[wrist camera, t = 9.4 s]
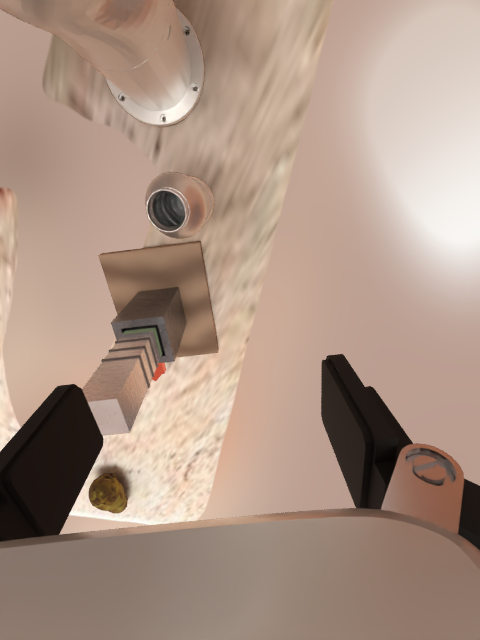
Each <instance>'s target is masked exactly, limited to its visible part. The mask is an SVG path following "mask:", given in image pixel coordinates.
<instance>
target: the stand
mask: <svg viewBox="0 0 480 640" xmlns="http://www.w3.org/2000/svg"><path fill="white" fill-rule="evenodd" d="M99 259H100V262H101V265H102V268H103V271H104V274H105V277H106V280H107V284H108V286H109V290H110V293H111V296H112V299H113V302H114V305H115V308H116V311H117V314H118V315H117V316H116V318H115V319H114V320H113V321H112V322H111V324H112V327H113V330H114V333H115V336H116V339H117V341H118V340H119V338H120V337H121V336H122V334H123V333H124V332H125V330H126V329H127V328H132V327H140V326H149V325H158V328H159V332H160V336H161V340H162V344H163V347H164V351H163V353H162V355H161V358H160V360H159V363H158V367H157V368H156V370H155V372H154V375H155V376H154V377H152V379H153V380H155V381H157V379H158V378H159V377H160V376H161V374H164V373H165V371H166V367H165V364H164V362H173V361H175V358H176V357H184V356H192V355H201V354H210V353H218V349H219V348H218V342H217V336H216V330H215V324H214V319H213V313H212V307H211V301H210V295H209V289H208V283H207V277H206V271H205V266H204V260H203V254H202V248H201V242H200V241H199V242H191V243H183V244H175V245H167V246H158V247H150V248H142V249H134V250H126V251H118V252H110V253H102V254H100V255H99Z"/></svg>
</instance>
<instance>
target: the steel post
mask: <svg viewBox="0 0 480 640" xmlns="http://www.w3.org/2000/svg"><path fill="white" fill-rule="evenodd" d="M163 351H164V347H163V344H162V340H161V336H160V332H159V328H158V325H149V326H140V327H132V328H127V329H126V330H125V332H124V333H123V334H122V336H121V337H120V338H119V340H118V341H116V342H115V345H114V347H113V348H112V349H111V350H109V353H108V355H107V356H106V357H105V359H102V363H101V364H100V366H99V367H98V368H97V370H96V371H95V372H94V374H93V375H92V377H91V378H90V379H89V381H88V382H87V383H86V385H85V386H84V387H83V389H82V390H83V393H84V395H85V397H86V400H87V402H88V404H89V406H90V409H91V411H92V413H93V416H94V418H95V420H96V423H97V425H98V427H99V429H100V432H101V434H102V436H104V435H113V434H122V433H130V431H131V428H132V426H133V424H134V421H135V419H136V416H137V414H138V411H139V409H140V406H141V404H142V402H143V399H144V397H145V394H146V392H147V389H148V388H150V382H151V380H152V377H154V376H155V375H154V372H155V370H156V368H157V367H158V363H159V360H160V358H161V355H162V353H163Z"/></svg>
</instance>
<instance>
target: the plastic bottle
mask: <svg viewBox="0 0 480 640" xmlns="http://www.w3.org/2000/svg"><path fill="white" fill-rule="evenodd" d="M145 199H146V200H145V205H146V212H147V216H148V218H149V220H150V222H151V223H152V224H153V226H155V227H156V228H157V229H158V230H159V231H160V232H162V233H163V234H165V235H167V236H169V237H172V238H177V239H183V238H188V237H190V236H193V235H194V234H196V233H197V232H198V231H199V230H200V229H201V228H202V226H203V224H204V223H205V222H207V221H208V220H209V219H210V217H211V215H212V213H213V210H214V198H213V194H212V192H211V190H210V188H209V187H208V185H207V184H206V183H205V182H203V181H202V180H201V179H199V178H196V177H193V176H186V175H184V174H182V173H178V172H167V173H163V174H161V175H159V176H157V177H156V178H155V179H154V180H153V181H152V182H151V183H150V185H149V187H148V189H147V192H146V197H145Z"/></svg>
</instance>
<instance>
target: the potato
mask: <svg viewBox="0 0 480 640" xmlns="http://www.w3.org/2000/svg"><path fill="white" fill-rule="evenodd" d="M89 499H90V502H91V504H92V505H93V506H95V507H96V508H98V509H100V510H104V511H109V512H112V513H121V512H122V511H124V510H125V508H126V507H127V500H128V498H127V496H126V493H125V490H124V487H123V486H122V484H121V483H120V482H119V481H118V480H117V479H116V475H115V474H105V475H102V476H100V477H99V478H97V479H95V480H94V481H93V482H92V484H91V486H90V488H89Z"/></svg>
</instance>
